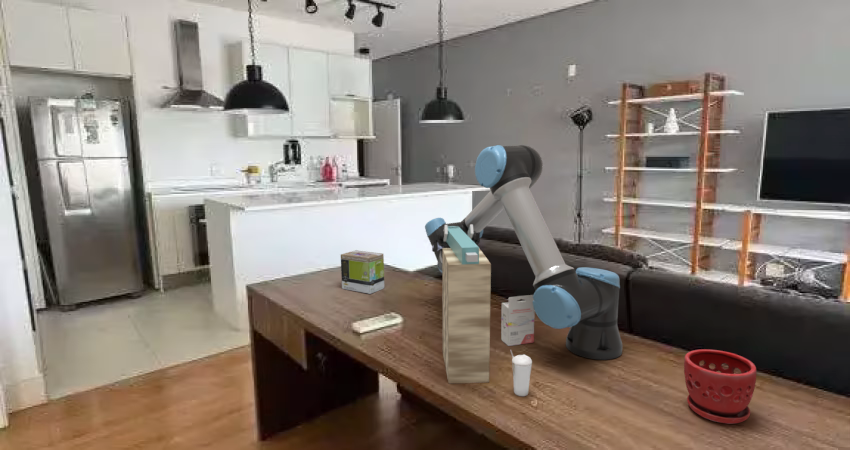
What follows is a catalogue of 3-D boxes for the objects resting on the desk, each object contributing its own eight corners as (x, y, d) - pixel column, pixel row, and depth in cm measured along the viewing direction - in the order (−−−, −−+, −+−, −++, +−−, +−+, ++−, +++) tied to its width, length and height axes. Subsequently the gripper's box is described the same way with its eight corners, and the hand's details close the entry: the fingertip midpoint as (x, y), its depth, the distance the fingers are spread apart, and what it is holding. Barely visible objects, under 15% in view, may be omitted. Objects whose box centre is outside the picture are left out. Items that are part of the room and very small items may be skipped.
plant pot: (724, 395, 109) (729, 346, 107) (766, 428, 96) (773, 374, 94) (668, 396, 109) (672, 347, 107) (703, 430, 96) (709, 375, 94)
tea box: (385, 288, 193) (384, 253, 191) (369, 295, 185) (368, 258, 183) (357, 283, 201) (355, 249, 199) (341, 289, 193) (339, 253, 190)
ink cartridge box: (526, 336, 144) (527, 290, 141) (534, 342, 139) (535, 295, 137) (500, 339, 142) (501, 292, 139) (507, 346, 137) (508, 297, 134)
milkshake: (514, 385, 115) (515, 346, 113) (534, 392, 112) (535, 352, 110) (504, 392, 111) (505, 352, 110) (525, 400, 108) (526, 359, 106)
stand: (442, 351, 134) (442, 248, 128) (477, 350, 134) (478, 247, 129) (448, 383, 116) (448, 264, 111) (489, 382, 116) (490, 263, 111)
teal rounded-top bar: (444, 239, 140) (444, 226, 140) (458, 239, 141) (458, 225, 140) (464, 267, 108) (464, 250, 108) (481, 266, 109) (481, 249, 108)
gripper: (482, 263, 152) (494, 241, 131) (422, 265, 151) (424, 242, 130) (480, 241, 155) (492, 216, 133) (421, 242, 154) (423, 217, 132)
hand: (459, 229), depth 132 cm, fingers open, 6 cm apart
